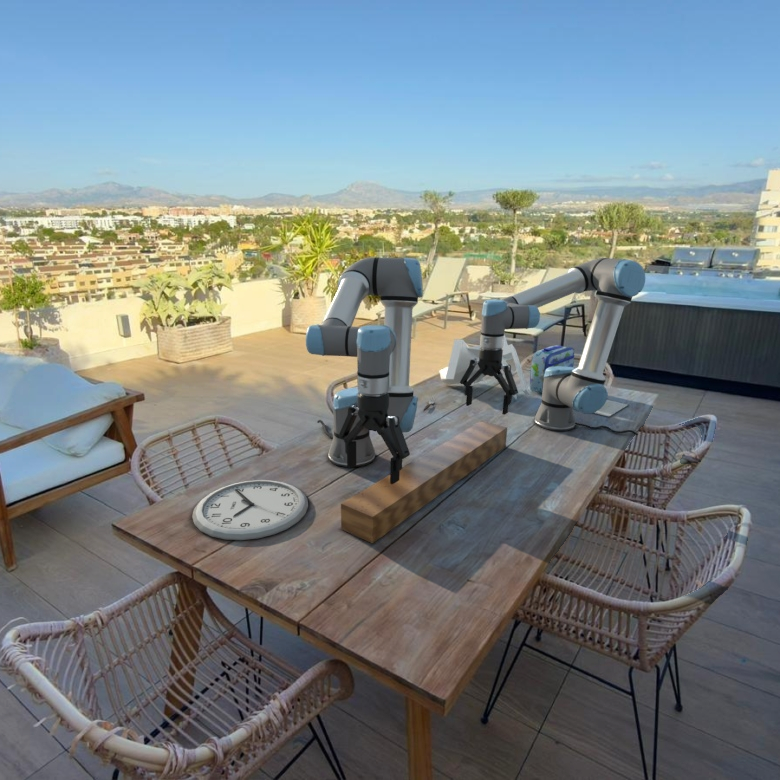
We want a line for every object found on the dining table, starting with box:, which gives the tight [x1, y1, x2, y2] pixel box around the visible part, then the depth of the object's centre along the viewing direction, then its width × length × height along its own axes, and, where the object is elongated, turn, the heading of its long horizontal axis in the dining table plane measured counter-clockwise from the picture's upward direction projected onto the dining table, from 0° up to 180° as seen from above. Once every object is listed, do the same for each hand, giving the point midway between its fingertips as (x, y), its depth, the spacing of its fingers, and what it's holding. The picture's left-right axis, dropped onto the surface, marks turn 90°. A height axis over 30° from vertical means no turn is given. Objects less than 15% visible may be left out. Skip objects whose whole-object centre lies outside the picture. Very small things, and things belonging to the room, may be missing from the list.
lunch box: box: [529, 345, 575, 394], centre depth 245 cm, size 26×11×21 cm, turn 134°
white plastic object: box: [438, 333, 531, 400], centre depth 245 cm, size 37×45×31 cm
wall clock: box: [191, 479, 309, 541], centre depth 140 cm, size 30×2×30 cm
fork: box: [422, 395, 437, 412], centre depth 223 cm, size 3×16×2 cm, turn 160°
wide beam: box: [340, 420, 508, 544], centre depth 156 cm, size 75×10×7 cm, turn 143°
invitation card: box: [593, 399, 629, 418], centre depth 226 cm, size 21×1×15 cm
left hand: (372, 473), depth 129 cm, fingers open, 13 cm apart
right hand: (486, 409), depth 177 cm, fingers open, 13 cm apart
